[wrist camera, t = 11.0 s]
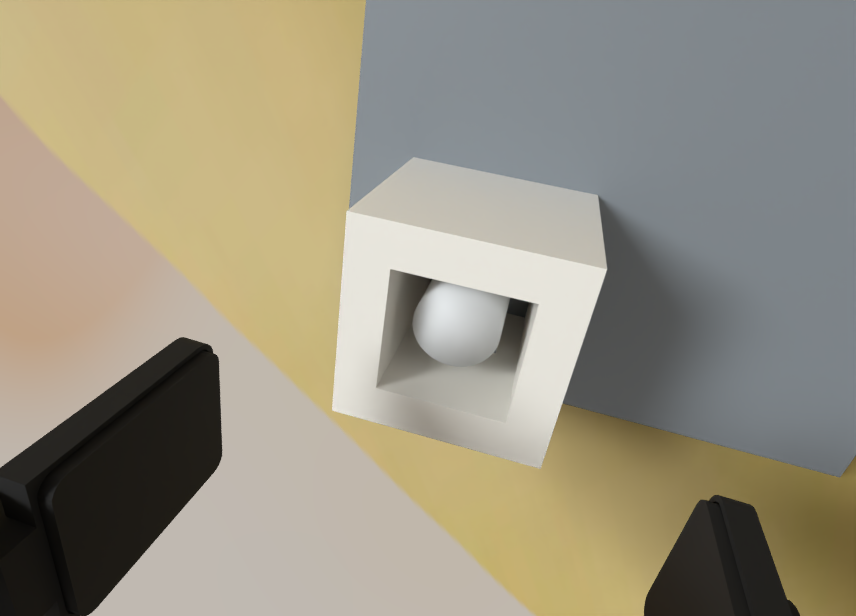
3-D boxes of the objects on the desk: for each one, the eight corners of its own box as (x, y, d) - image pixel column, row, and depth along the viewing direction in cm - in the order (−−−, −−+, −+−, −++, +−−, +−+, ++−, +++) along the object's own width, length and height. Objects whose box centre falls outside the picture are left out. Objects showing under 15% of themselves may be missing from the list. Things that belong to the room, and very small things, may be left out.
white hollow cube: (413, 157, 18) (346, 210, 13) (598, 195, 17) (607, 269, 12) (393, 314, 21) (332, 410, 16) (549, 353, 20) (540, 468, 15)
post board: (823, 449, 21) (914, 606, 15) (351, 325, 23) (280, 420, 18) (1098, 44, 14) (1450, 56, 8) (388, -67, 16) (291, -114, 11)
